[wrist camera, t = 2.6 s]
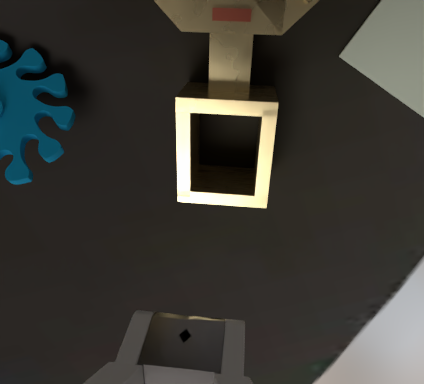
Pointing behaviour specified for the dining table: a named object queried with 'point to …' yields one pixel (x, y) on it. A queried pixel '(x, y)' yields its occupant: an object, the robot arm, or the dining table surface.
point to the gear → (28, 112)
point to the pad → (392, 50)
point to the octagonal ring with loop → (228, 94)
